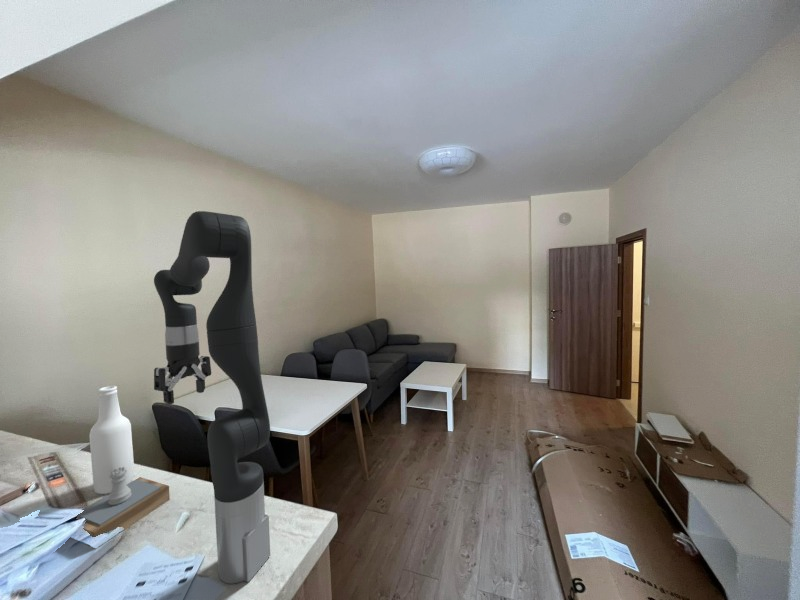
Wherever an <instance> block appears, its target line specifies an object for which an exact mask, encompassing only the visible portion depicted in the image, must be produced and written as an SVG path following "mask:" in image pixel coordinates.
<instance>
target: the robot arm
mask: <svg viewBox="0 0 800 600" xmlns="http://www.w3.org/2000/svg"><path fill="white" fill-rule="evenodd" d="M183 229H184V230H183V234H182V238H181V242H180V246H179V251H178V254H177V257H176V258H175V260H174V261H173V263H172V265H171V266H170V269H161V270H159V271H157V272H156V273H155V275H154V277H153V284H154V288H155V289H156V292H157V294H158V297H159V298H160V301H161V304H162V307H163V310H164V312H163V313H164V322H165V323H164V324H165V325H164V326H165V331H164V332H165V333H164V339H165V355H166V358H165V359H166V360H167V365H166V366H164V367H163V366H162V367H155V368H154V369H153V389H154V391H158V392H163V393H162V394H163V402H164V403H165V404H167V405H172V404H174V403H175V397H174V396H175V395H174V390H173V389H174V387H175V386H176V384H177V383H179V381H180V380H182V379H185V378H187V377H191V376H193V377H195V378H196V380H195V388H196V390H195V391H196V393H199V394H203V393H204V392H205V390H206V382H205V381H206V378H208V377H209V376H211V375H212V367H211V359H212V361H213V362H214V363H215V364H216V366H218V367H219V369H220V370H221V371H222V372H223V373H225V375H226V376H228V378H229V379H230V381H232V382H233V383H234V385H235V387H236V388H237V389H238V392H239V395H240V398H241V406H242V407H241V408H242V409H240V410H237V411H234V412H232V413H230V414H226V415H223V416H221V417H219V418H216V419H214V420H213V421H212V422H211V423H210V424H209V426H208V430H207V448H208V455H209V464H210V476H211V481H212V486H213V496H214V497H213V498H214V515H215V516H214V517H215V531H216V532H215V534H216V535H215V537H216V538H215V539H216V552H217V554H216V555H217V565H218V566H217V568H218V569H217V570H218V571H217V572H218V577H219V579H220V580H221V581H222V582H223V583H226V584H232V585H233V584H238V583H242V582H246V583H249V582H250V581H251V580H252V579H253V578H254V576H255V575H256V574H257V573H258V572H257V571H260V569H261V568H262V567H263V566H264V565H265V563H266V562H267V561H266V560H269V558H270V557H271V539H270V538H271V537H270V536H271V535H270V517H269V515H268V514H266V511H265V510H266V508H265V507H266V506H265V484H264V483H265V481H264V479H265V478H264V470H263V467H262V465H260V464H259V463H257V462H253V461H242V462H241V461H240V462H238V461H239V460H241V459H242V458H244V457H246V456H248V455H250V454H252V453H254V452H256V451H258V450H259V449H261V448H263V447H265V446H266V445H267V444H268V442H269V440H270V437H271V425H270V424H271V423H270V422H271V421H270V418H269V411H268V407H267V401H266V396H265V391H264V385H263V380H262V371H261V364H260V362H261V361H260V353H259V352H260V351H259V338H258V336H259V335H258V329H257V327H258V326H257V320H256V319H257V318H256V311H255V305H254V292H253V278H252V277H253V275H252V270H253V269H252V237H251V230H250V227H249V223H248V221H247V220H246V218H244V217H242V216H239V215H233V214H228V213H222V212H212V211H202V210H201V211H200V210H199V211H195V212H193V213H191V214H190V215H189V217H188V218H187V220H186V222H185V224H184V228H183ZM209 258H217V259H219V258H220V259H229V263H230V264H229V265H230V269H229V275H228V279H227V282H226V284H225V286H224V289H223V290H222V291H221V293H220V295H219V297H218V298H217V300H216V302H215V303H214V305H213V306H212V308H211V310H210V312H209V314H208V316H207V319H206V325H205V326H206V338H207V345H208V346H207V348H208V353H209V356H207V355H201V353H200V337H199V336H200V335H199V329H198V323H197V322H198V320H197V307H196V306H195V305H194V304H191V303H185V302H184V303H183V302H178V301H177V300H175V298H174V296H193V295H196V294H199V293H200V292H201V291H202V287H203V279H204V278H205V277H206V276H207V274H208V272H209V270H210V265H211V264H210V260H209ZM200 355H201V356H200ZM210 357H211V358H210ZM199 365H200V368H199ZM269 556H270V557H269ZM268 557H269V558H268ZM265 561H266V562H265ZM261 566H262V567H261Z"/></svg>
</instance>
